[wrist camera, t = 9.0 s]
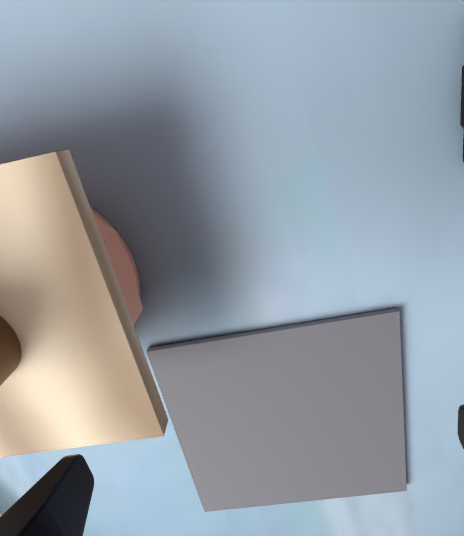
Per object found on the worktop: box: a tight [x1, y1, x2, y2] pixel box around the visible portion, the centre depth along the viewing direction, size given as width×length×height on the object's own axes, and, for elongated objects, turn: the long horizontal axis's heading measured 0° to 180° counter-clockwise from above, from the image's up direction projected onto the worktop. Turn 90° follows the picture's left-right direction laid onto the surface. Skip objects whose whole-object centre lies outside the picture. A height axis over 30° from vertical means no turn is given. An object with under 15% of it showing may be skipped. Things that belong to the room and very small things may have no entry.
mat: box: [147, 308, 407, 512], centre depth 24 cm, size 15×15×1 cm
